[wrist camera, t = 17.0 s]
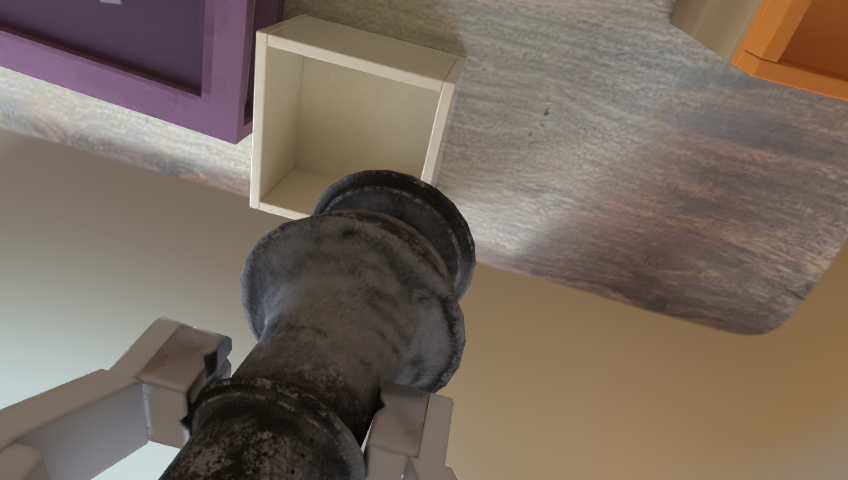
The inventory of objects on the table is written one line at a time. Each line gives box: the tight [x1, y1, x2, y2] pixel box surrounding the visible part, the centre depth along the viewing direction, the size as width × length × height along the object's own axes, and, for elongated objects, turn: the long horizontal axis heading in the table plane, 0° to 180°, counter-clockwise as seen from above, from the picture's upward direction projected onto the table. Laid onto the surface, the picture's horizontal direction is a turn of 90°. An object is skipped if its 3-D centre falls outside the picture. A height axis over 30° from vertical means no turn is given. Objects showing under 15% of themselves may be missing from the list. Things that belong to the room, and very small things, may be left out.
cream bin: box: [250, 14, 468, 220], centre depth 31 cm, size 10×10×6 cm
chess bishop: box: [158, 170, 476, 480], centre depth 11 cm, size 6×6×12 cm
